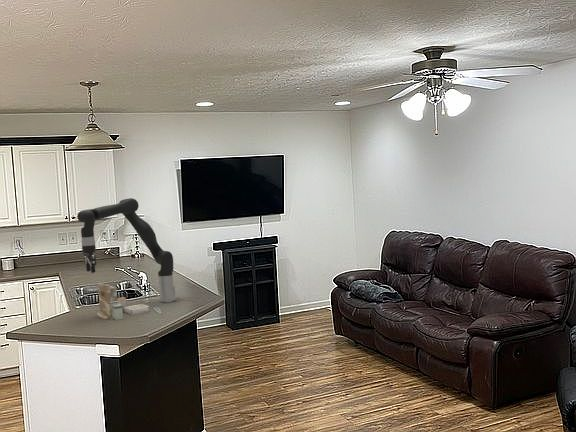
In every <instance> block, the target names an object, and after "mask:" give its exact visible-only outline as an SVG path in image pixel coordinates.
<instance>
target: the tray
mask: <svg viewBox="0 0 576 432" xmlns="http://www.w3.org/2000/svg"><path fill="white" fill-rule="evenodd" d="M150 311H151V310H150V306H149V305H146V304H143V303H141V304H140V303H139V304H136V305H135V304H134V305H129V306H126V307H124V311H123V312H124V313H125V314H127V315H130V316H132V315H139V314H143V313H148V312H150Z"/></svg>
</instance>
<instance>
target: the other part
mask: <svg viewBox="0 0 576 432" xmlns="http://www.w3.org/2000/svg"><path fill="white" fill-rule="evenodd" d="M112 314H113V315H114V318H113V320H116V321H117V320H123V319H124V316H123V311H122V305H120V304H118V303H117V304H113V305H112Z"/></svg>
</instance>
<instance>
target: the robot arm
mask: <svg viewBox="0 0 576 432" xmlns="http://www.w3.org/2000/svg"><path fill="white" fill-rule="evenodd" d="M137 210H139V202H138V201H137V199H135V198H130V197H129V198H125V199H122V200H120V201H119V202H118V203H115V204H108V205H103V206H99V207H95V208H89V209H84V210H81V211H79V212H78V213H77V215H76V217H77V218H76V219H77V220H78V221H79V222H80V223H83V227H81V229H80V237H81V241H80V242H81V250H82V251H81V252H82V254H83V263H84V264H85V268H86V272H87V273H88V272H91V274H94V273H96V266H97V259H96V255H95V254H94V253H96V252H97V250H96V249H97V248H96V240H95V231H94V228H95V222H96V220H102V219H106V218H110V217H113V216H116V215H119V214H122V216H124V217H125V219H126V220H127V221H128V222H129V223H130V225H131V226H132V227H133V229H134V230H135V232H136V234H137V235H138V236H139V238H140V240H141V241H142V242H143V244H144V245H145V246H146V247H147V249H148V250H149V252H150V254H151V256H152V258H153V259H154V261H155V263H157V264H159V265H160V269H159V270H158V271H157V274H158V275H157V276H158V287H159V288H158V289H159V302H160V303H172V302H175V301H177V299H176V286H175V285H174V275H173V272H174V256H173V253H172V252H171V251H168V250H164V249H162V248H161V246H160V245H159V243H158V240H157V237H156V236H157V235H156V233H155V231H154V229H153V228H152V227H151V225H150V224H149V223H148V222H147V221H146V220H144V219H143V218H141V217H140V216H139V215H138V214H137V213H136V212H137Z"/></svg>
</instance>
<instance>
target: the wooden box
mask: <svg viewBox="0 0 576 432" xmlns="http://www.w3.org/2000/svg"><path fill="white" fill-rule="evenodd" d="M97 290H98V303H99V311H100V312H96V316H97V317H100V318H102V319H104V320H111V319H114V315H113V309H112V303H115V302H117V298H118V293H117V292H118V291H117V287H116V286H112V285H109V284H106V283H102V282H98V283H97Z"/></svg>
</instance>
